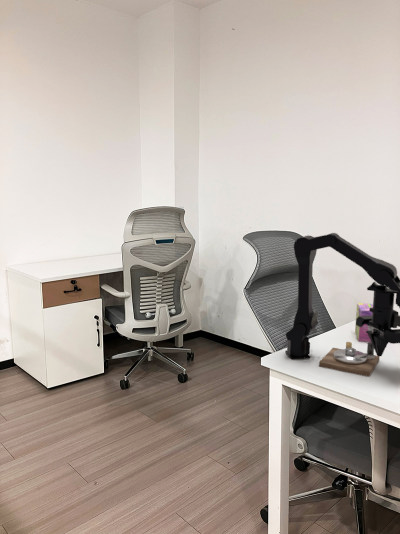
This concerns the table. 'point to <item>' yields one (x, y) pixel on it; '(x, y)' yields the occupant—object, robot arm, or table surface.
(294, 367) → the table surface
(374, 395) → the table surface
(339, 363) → the base plate
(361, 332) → the box
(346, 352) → the flange
